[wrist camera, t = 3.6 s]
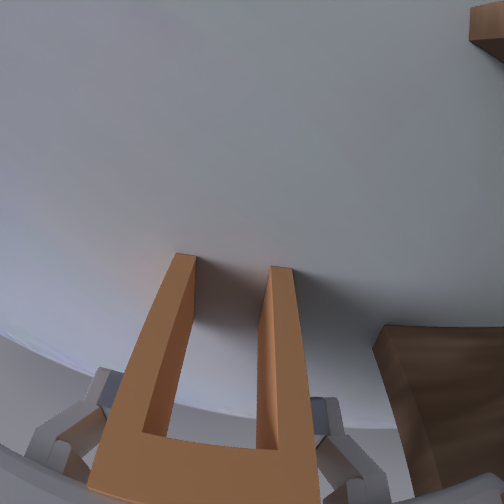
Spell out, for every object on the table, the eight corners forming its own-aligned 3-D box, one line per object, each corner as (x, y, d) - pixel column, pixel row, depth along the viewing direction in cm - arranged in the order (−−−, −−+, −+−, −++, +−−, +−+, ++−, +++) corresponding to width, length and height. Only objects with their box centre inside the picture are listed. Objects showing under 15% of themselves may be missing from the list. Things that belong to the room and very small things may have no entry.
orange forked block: (175, 253, 14) (86, 486, 5) (291, 268, 15) (321, 516, 5) (175, 317, 16) (121, 515, 7) (276, 330, 16) (283, 535, 7)
